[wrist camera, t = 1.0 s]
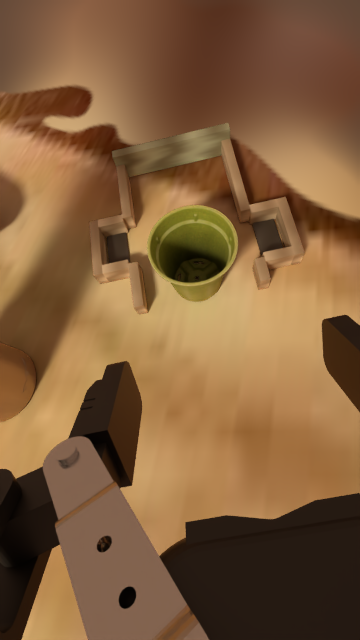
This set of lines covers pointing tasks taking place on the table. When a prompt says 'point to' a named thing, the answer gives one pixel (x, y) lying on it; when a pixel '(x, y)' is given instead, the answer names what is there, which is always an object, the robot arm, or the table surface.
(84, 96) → the table surface
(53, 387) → the table surface
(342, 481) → the table surface
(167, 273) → the plant pot
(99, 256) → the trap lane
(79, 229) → the table surface
